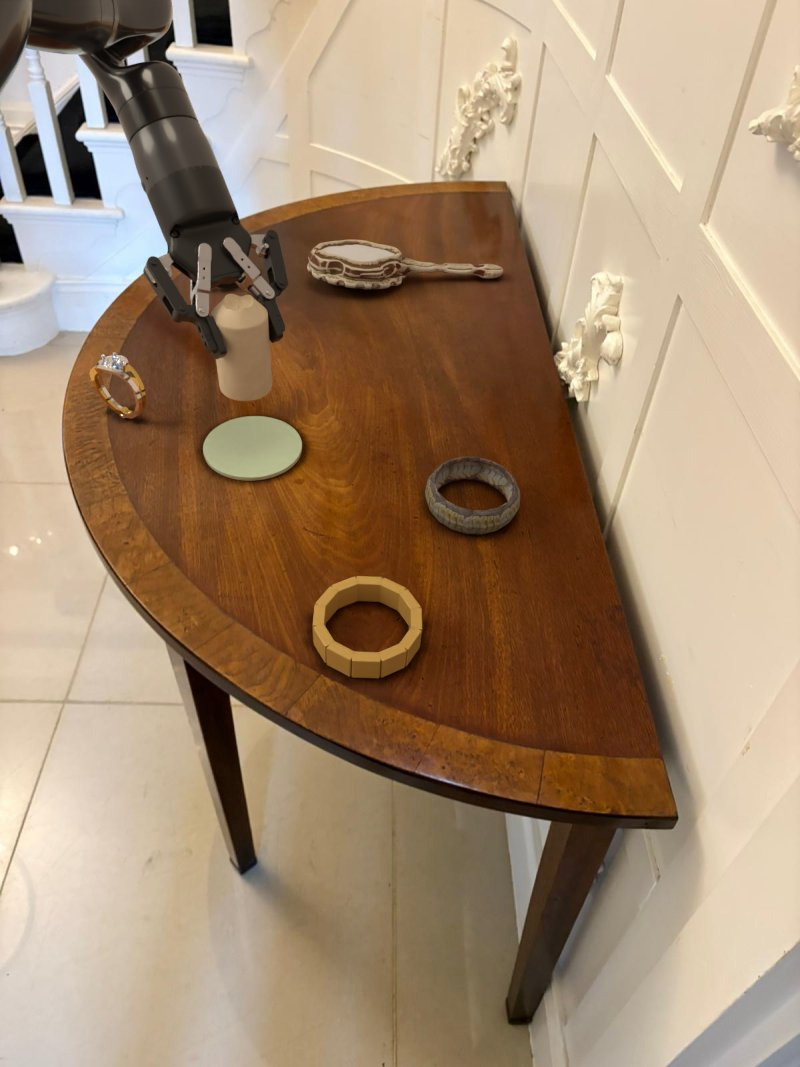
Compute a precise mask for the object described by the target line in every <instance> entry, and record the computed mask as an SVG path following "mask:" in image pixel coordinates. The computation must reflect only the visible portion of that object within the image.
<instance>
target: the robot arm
mask: <svg viewBox="0 0 800 1067" xmlns="http://www.w3.org/2000/svg"><path fill="white" fill-rule="evenodd" d="M173 8H174V6H173V1H172V0H0V96H1V95H2V94H3V92H4V90H5V89H6V88H7V86H8V84H9V82H10V81H11V79H12V77H13V76H14V74H15V72H16V70H17V68H18V65H19V63H20V61H21V59H22V57H23V54H24V52H25V49H28V50H32V51H38V52H44V53H52V54H59V55H77V56H78V57H79V59H81V61H82V62H83V63H84V65H85V66H86V67H87V69H88V70H89V72H90V73H91V74H92V75H93V77H94V79H95V80H96V82H97V83H98V84H99V86H100V88H101V90H102V92H104V94H105V95H106V97H107V99H108V100H109V102H110V104H111V106H112V107H113V109H114V111H115V114H116V116H117V118H118V122H119V124H120V126H121V128H122V130H123V133H124V137H126V141H127V143H128V145H129V147H130V151H131V154H132V158H133V161H134V165H135V169H136V171H137V175H138V177H139V179H140V185H141V187H142V191H143V192H144V193H145V195H146V197H147V199H148V202H149V204H150V207H151V209H152V211H153V214H154V216H155V218H156V221H157V224H158V226H159V229H160V232H161V233H162V236H163V238H164V241H165V242H166V246H167V252H166V254H163V255H161V256H159V257H157V256H154V255H152V256H149V257H148V259H147V260H146V262H145V265H144V267H143V271H142V272H143V275H144V276H145V278H146V279H147V281H148V283H149V285H150V286H151V288H152V289H153V291H154V293H155V294H156V295H157V298H158V299H159V301H160V302H161V304H162V306H163V307H164V309H165V311H166V312H167V314H168V315H169V317H170V319H171V320H172V321H173V322H175V323H176V324H177V323H183V322H185V323H191V324H193V325H194V326H195V328H196V330H197V332H198V335H199V338H200V340H201V341H202V345H203V347H204V350H205V351H206V352H207V354H208V355H209V356H211V355H213V357H214V359H215V360H216V359H219V358H223V357H224V356H225V355H226V354H227V350H226V347H225V344H224V342H223V339H222V337H221V335H220V332H219V330H218V327H217V325H216V322H215V320H214V317H213V316H211V315H210V314H209V313H210V293H211V289H215V288H217V287H216V286H218V285H219V284H231V283H236V284H237V285H236V286H238V287H239V288H240V290H241V291H242V292H246V293H247V295H251V296H252V297H253V298H254V299H255V300H256V301H258V302H259V303H260V304H261V305H263V306H264V307H265V308H266V310H267V312H268V325H269V340H270V343H273V344H274V343H277V342H279V341H281V340H282V339H283V338H284V332H285V331H286V324H285V321H284V319H283V316H282V314H281V312H280V308H279V307H278V304H277V301H276V299H277V297H279V296H280V295H281V294H282V293H283V292H284V291H285V290H286V289H287V288H288V287H289V279H288V275H287V271H286V266H285V262H284V257H283V252H282V248H281V247H282V246H281V243H280V239H279V235H278V232H277V231H275V230H273V229H269V230H267V232H266V233H265V234H264V233H261V234H259V233H258V234H255V233H254V234H251V233H250V232H249V231H248V230H247V229H246V228H245V227H244V225H242V223H241V220H240V217H239V213H238V210H237V208H236V204H235V203H234V200H233V198H232V195H231V193H230V190H229V188H228V185H227V183H226V180H225V177H224V174H223V173H222V170H221V167H220V164H219V162H218V160H217V157H216V155H215V152H214V150H213V148H212V145H211V143H210V141H209V139H208V137H207V136H206V134H205V132H204V131H203V129H202V125H201V124H200V122H199V119H198V117H197V115H196V111H195V109H194V107H193V104H192V101H191V99H190V97H189V94H188V91H187V89H186V86H185V84H184V82H183V79H182V78H181V76H180V74H179V72H178V71H177V70H176V68H174V67H173V66H172V65H170V64H169V63H167V62H165V61H159V60H148V61H147V60H146V61H141V62H136V63H132V64H128V65H125V61H126V60H127V59H128V58H130V57H131V56H133V55H135V54H136V53H138V52H140V51H141V50H143V49H145V48H146V47H148V46H149V45H151V44H153V43H155V42H156V41H158V40H160V39H162V37H164V36H165V34H167V32H168V31H169V29H170V27H171V25H172V21H173V13H174V9H173ZM251 248H252V249H253V250H254V252H255V253H256V255H257V257H259V258H261V259H262V263H263V268H264V273H265V277H266V279H264V277H263V276H262V273H261V270H260V269H259V268H258V267H257V266H256V264H255V263H254V262H253V261H252V260H251V259H250V258H249V256H250V252H251ZM172 268H175V269H176V270H177V271H179V272H180V273H181V274H183V275H184V276H185V277H187V278H188V279H189V281H190V285H189V286H190V287H189V291H190V292H189V294H190V295H189V299H190V304H188V303H187V302H186V300H185V299H184V297H183V295H182V294H181V292H180V290H179V289H178V287H177V285H176V284H175V282H174V281H173V279H172V276H173V273H174V272H173V270H172Z"/></svg>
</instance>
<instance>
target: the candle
mask: <svg viewBox="0 0 800 1067" xmlns="http://www.w3.org/2000/svg"><path fill="white" fill-rule="evenodd" d="M210 316H213V317H214V320H215V322H216V325H217V327H218V330H219V332H220V335H221V337H222V339H223V342H224V344H225V347H226V350H227V354H226V355H225V356H224V357H223V358H219V359H215V364H216V371H217V379H218V386H219V389H220V392H221V394H223V395H224V396H225V397H226V398H228V399H230V400H234V401H238V402H252V401H256V400H259V399H262V398H263V397H265V396H267V395H268V394H269V393H270V392H271V390H272V388H273V375H272V374H273V372H272V371H273V370H272V359H271V358H272V356H271V346H270V345H271V341H270V339H269V325H268V312H267V310H266V308H265V307H264V306H263V305H261V304H260V303H259V302H258V301H256V300H255V299H254V298H253V297H252V296H251V295H249V294H245V295H241V296H240V295H237V294H234V293H228V294H227V293H226V295H224V297H223V298H222V299H221V300H220V301H219V302H218V303H217V304H216V305H214V307H213V308H212V310H211V311H210Z"/></svg>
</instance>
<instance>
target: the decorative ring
mask: <svg viewBox="0 0 800 1067" xmlns="http://www.w3.org/2000/svg"><path fill="white" fill-rule="evenodd" d="M459 481H475V482H479V483H482V484H486V485H488V486H490V487H492V488H494V489H496V490H497V491H498V492H499V493H501V495H502V496H503V497H504V498H505V500H506V501H507V502H505V503H503V504H502V505H500V506H498V507H495V508H490V509H486V510H485V509H484V510H481V509H480V510H479V509H469V508H465V507H461V506H458V505H456V504H454V503H452V502H451V501H448V500H447V499H445V498H444V496H443V495H442V494H441V493H440V491H439V489H440V488H442V487H444V486H446V485H448V484H450V483H453V482H459ZM424 496H425V500H426V503H427V507H428V510H429V512H430V513H431V514H432V516H433V517H434V518H435V519H436V520H437V521H438V523H440V524H442V525H443V526H445V527H446V528H449V530H452V531H455V532H458V533H462V534H465V535H485V534H489V533H495V532H498V531H499V530H500V529H502V528H503V527H505V526H507V525H508V524H510V523H511V521H512V520H513V518H514V517H515V515H516V514H517V513H518V511H519V509H520V504H521V490H520V487H519V486H518V483H517V480H516V478H515V477H514V475H513V474H512V473H511V472H510V471H509V470H508V469H507V468H506V467H505V466H503V465H501V464H499V463H497V462H495V461H494V460H490V459H487V458H483V457H479V456H460V457H455V458H450V459H448V460H446V461H445V462H443V463H441V464H439V465H438V466H437V467H436V468H435V470H434V471H433V472H432V473H431V474H430V476H428V479H427V482H426V485H425V490H424Z"/></svg>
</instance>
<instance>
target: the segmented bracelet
mask: <svg viewBox="0 0 800 1067" xmlns="http://www.w3.org/2000/svg"><path fill="white" fill-rule="evenodd" d="M356 602H374V603H375V602H376V603H377V602H378V603H381V604H383V605H384V606H387V607H389V608H390V609H393V610H395V611H397V612H398V613H399V614H400V616H401V617H402V619H403V620H404V622H405V623H406V624H407V626H408V631H407V632H406V634H405V635H404V636H403V638H402V639H401V640H400V641H399V643H397V644H395V645H392V646H390V647H388V648H385V649H383V650H381V651H379V652H377V651H376V652H375V651H355V650H352V649H350V648H348V647H347V646H345V645H342V644H341V643H339V642H337V641H335V639H334V638H333V636H332V635H331V634H330V632H329V629H327V626H326V625H327V622H329V620H330V619H331V618H332V617H333V616H334V614H335V613H336V612H337V610H339V609H342V608H343V607H346V606H348V605H352V604H354V603H356ZM422 634H423V609H422V606H421V605H420V604H419V602H418V601H417V599H416V598H415V597H414V595H413V594H412V592H410V590H409V589H408V588H407V587H406V586H403V585H401V584H400V583H397V582H395V581H393V580H391V579H388V578H386V577H383V576H370V575H369V576H368V575H367V576H365V575H356V576H355V575H354V576H351V577H349V578H346V579H344V580H341V581H339V582H336V583H333V584H332V585H331V586H329V587H328V588H326V590H325V591H324V592H323V594H322V595H321V596H320V597H319V598H318V599H317V600H316V602H315V603H314V605H313V616H312V643H313V646H314V647H315V649H316V651H317V652H318V654H319V655H320V657H321V659H322V660H323V662H324V664H326V666H328V667H330V668H332V669H333V670H336V671H337V672H340V673H341V674H343V675H345V676H347V677H349V678H350V677H351V678H355V679H356V678H357V679H358V678H359V679H379V678H384V677H386V676H389V675H391V674H393V673H395V672H398V671H401V670H403V669H405V668H406V667H407V666H408V665H409V664H410V662H411V661H412V659H413V658H414V657H415V655H416V654H417V652H418V651H419V649H420V647H421V644H422Z"/></svg>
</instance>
